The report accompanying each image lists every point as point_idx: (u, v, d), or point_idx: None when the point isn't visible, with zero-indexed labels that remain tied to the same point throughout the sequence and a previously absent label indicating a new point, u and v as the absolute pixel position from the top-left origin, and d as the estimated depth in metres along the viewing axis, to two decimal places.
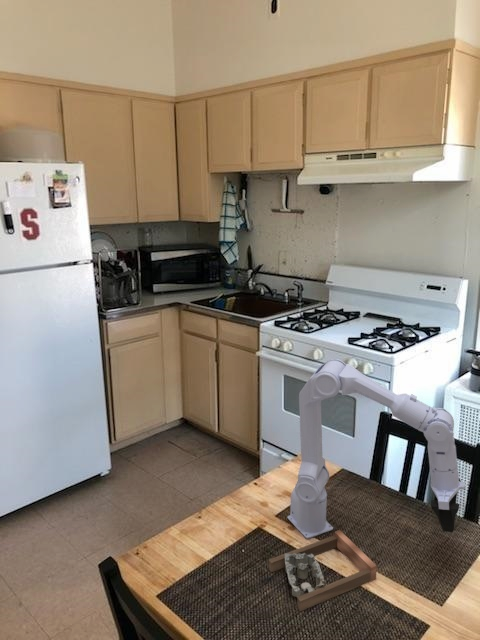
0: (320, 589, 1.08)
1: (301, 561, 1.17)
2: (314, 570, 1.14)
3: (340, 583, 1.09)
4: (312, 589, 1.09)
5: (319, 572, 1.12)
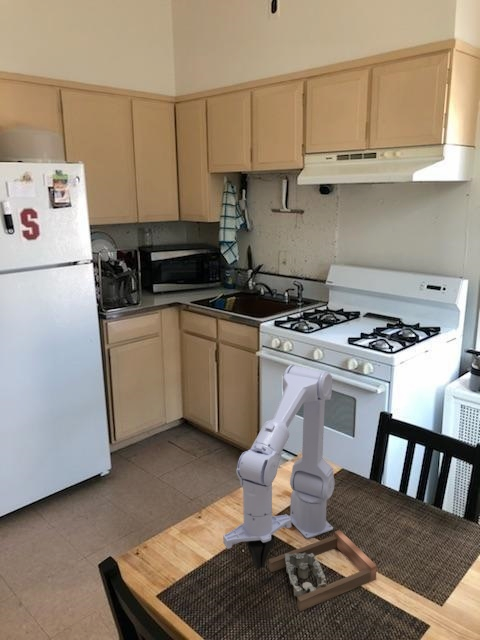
0: (320, 589, 1.08)
1: (301, 561, 1.17)
2: (315, 569, 1.14)
3: (340, 583, 1.09)
4: (314, 588, 1.09)
5: (320, 571, 1.12)
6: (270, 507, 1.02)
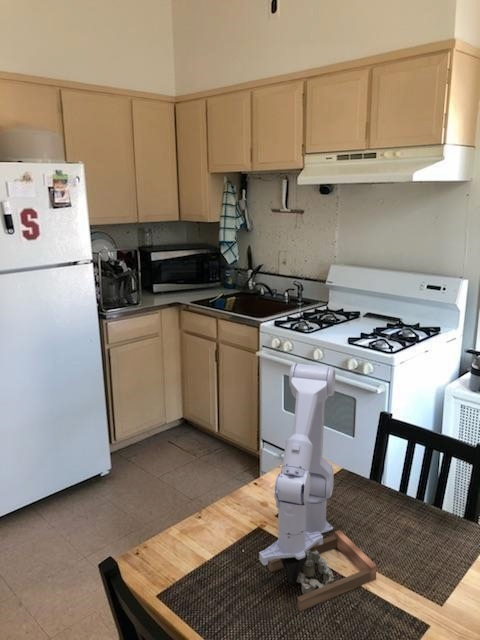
0: (320, 589, 1.08)
1: None
2: (321, 566, 1.15)
3: (340, 583, 1.09)
4: (322, 585, 1.10)
5: (326, 568, 1.13)
6: (305, 524, 1.07)
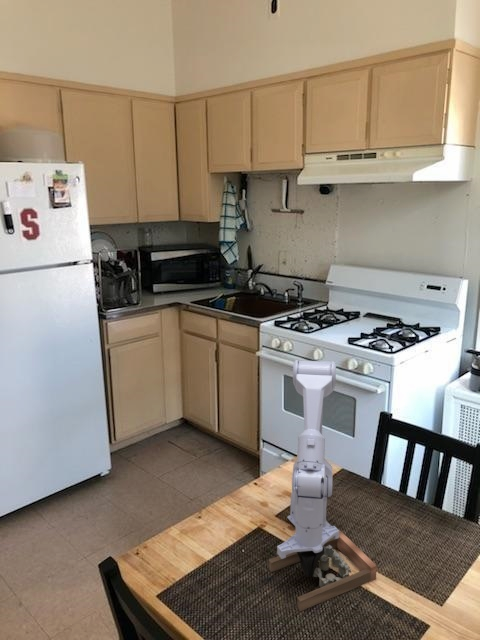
0: (320, 589, 1.08)
1: None
2: (335, 560, 1.17)
3: (340, 583, 1.09)
4: (339, 579, 1.11)
5: (342, 562, 1.15)
6: (322, 517, 1.09)
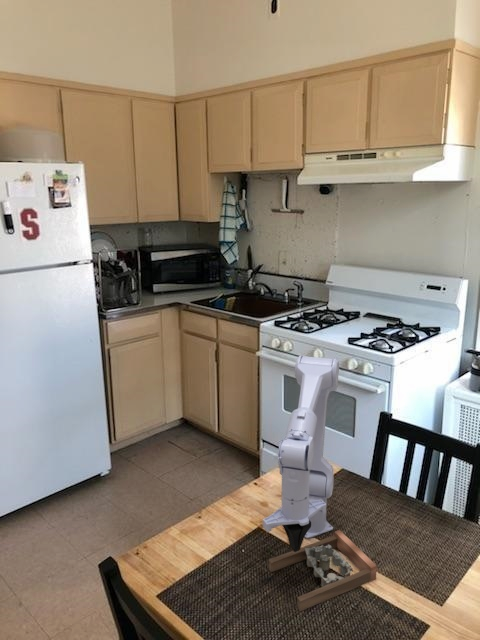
0: (320, 589, 1.08)
1: (320, 553, 1.20)
2: (336, 559, 1.17)
3: (340, 583, 1.09)
4: (341, 578, 1.12)
5: (342, 561, 1.16)
6: (308, 490, 1.07)
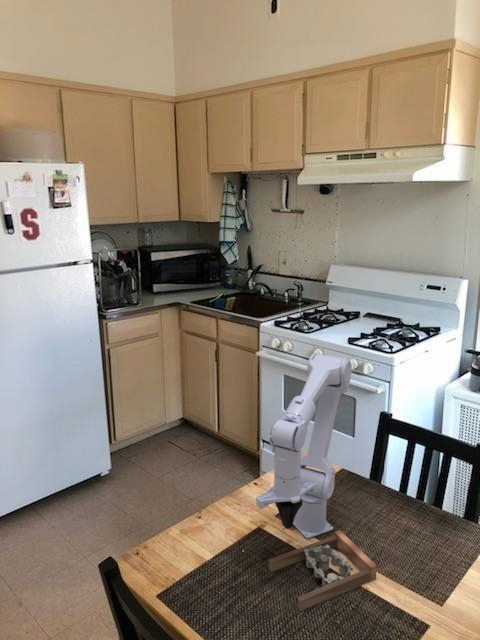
0: (320, 589, 1.08)
1: (319, 554, 1.19)
2: (335, 559, 1.17)
3: (340, 583, 1.09)
4: (342, 578, 1.12)
5: (342, 560, 1.16)
6: (299, 471, 1.12)
